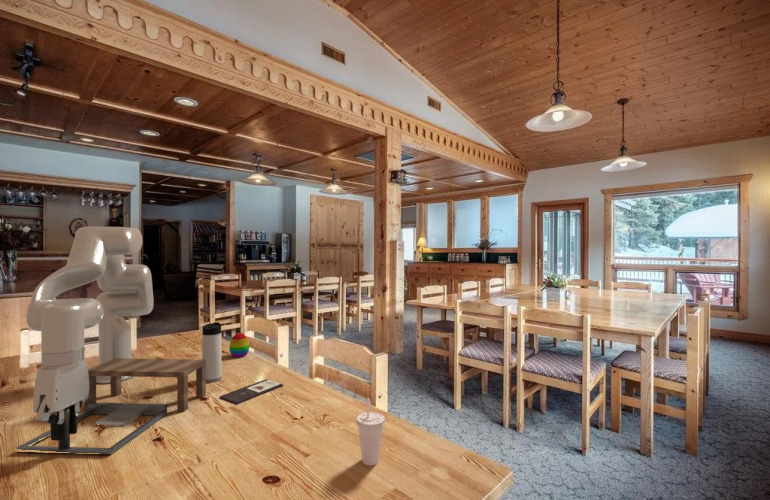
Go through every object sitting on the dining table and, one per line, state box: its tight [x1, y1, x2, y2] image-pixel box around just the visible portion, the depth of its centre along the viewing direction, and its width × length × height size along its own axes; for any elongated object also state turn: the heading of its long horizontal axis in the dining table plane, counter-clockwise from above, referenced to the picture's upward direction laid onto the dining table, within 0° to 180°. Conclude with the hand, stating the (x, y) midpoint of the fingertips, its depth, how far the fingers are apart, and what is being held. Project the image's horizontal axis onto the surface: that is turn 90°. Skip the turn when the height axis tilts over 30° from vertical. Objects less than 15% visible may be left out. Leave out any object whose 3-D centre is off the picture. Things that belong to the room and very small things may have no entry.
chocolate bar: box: [219, 379, 284, 405], centre depth 123 cm, size 9×1×18 cm
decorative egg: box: [228, 332, 250, 358], centre depth 163 cm, size 8×8×10 cm
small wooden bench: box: [83, 357, 207, 413], centre depth 115 cm, size 30×12×12 cm, turn 88°
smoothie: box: [355, 398, 386, 466], centre depth 84 cm, size 6×6×14 cm
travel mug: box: [201, 321, 223, 383], centre depth 134 cm, size 6×7×20 cm
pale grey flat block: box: [95, 412, 142, 427], centre depth 103 cm, size 8×6×2 cm
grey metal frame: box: [15, 402, 168, 454], centre depth 96 cm, size 22×22×12 cm
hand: (64, 436), depth 86 cm, fingers closed on grey metal frame, 2 cm apart
